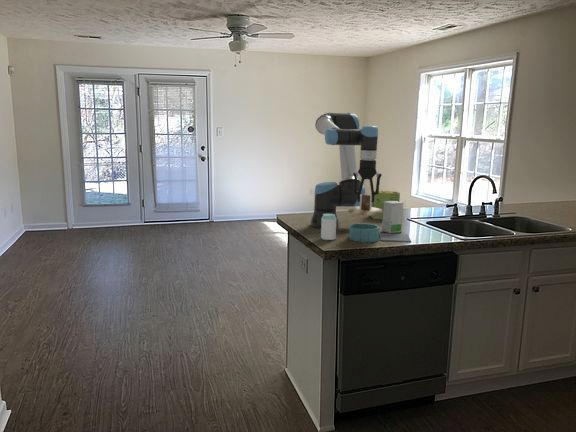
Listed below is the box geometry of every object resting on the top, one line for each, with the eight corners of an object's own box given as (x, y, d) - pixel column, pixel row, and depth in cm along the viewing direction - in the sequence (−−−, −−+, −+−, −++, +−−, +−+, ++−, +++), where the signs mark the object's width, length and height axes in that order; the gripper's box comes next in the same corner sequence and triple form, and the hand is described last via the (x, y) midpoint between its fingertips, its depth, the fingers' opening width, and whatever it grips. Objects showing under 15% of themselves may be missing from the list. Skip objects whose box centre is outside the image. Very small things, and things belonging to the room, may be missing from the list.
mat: (381, 240, 226) (381, 239, 226) (379, 234, 240) (379, 233, 240) (411, 242, 224) (411, 241, 224) (407, 235, 238) (407, 234, 238)
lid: (348, 214, 221) (349, 196, 219) (348, 208, 236) (348, 191, 235) (383, 216, 219) (384, 198, 217) (380, 209, 235) (381, 193, 233)
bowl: (349, 241, 224) (349, 228, 223) (349, 234, 237) (349, 222, 236) (379, 242, 222) (380, 230, 221) (377, 235, 236) (378, 224, 235)
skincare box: (389, 233, 242) (391, 203, 239) (381, 230, 248) (382, 201, 245) (402, 232, 246) (404, 202, 243) (393, 229, 251) (395, 200, 249)
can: (334, 237, 230) (335, 213, 228) (336, 241, 223) (337, 216, 221) (320, 237, 230) (321, 212, 228) (321, 240, 223) (322, 215, 221)
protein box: (398, 219, 279) (400, 193, 276) (372, 218, 279) (373, 192, 276) (395, 216, 289) (396, 190, 286) (369, 215, 289) (371, 190, 286)
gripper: (349, 159, 220) (347, 209, 225) (387, 160, 218) (383, 210, 223) (349, 158, 227) (347, 206, 232) (385, 159, 225) (382, 208, 230)
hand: (365, 208), depth 227 cm, fingers closed on lid, 4 cm apart
